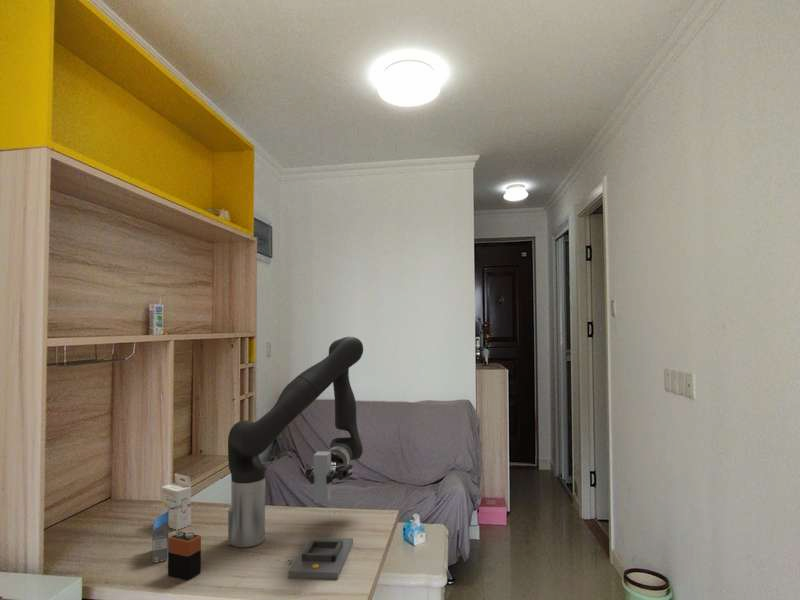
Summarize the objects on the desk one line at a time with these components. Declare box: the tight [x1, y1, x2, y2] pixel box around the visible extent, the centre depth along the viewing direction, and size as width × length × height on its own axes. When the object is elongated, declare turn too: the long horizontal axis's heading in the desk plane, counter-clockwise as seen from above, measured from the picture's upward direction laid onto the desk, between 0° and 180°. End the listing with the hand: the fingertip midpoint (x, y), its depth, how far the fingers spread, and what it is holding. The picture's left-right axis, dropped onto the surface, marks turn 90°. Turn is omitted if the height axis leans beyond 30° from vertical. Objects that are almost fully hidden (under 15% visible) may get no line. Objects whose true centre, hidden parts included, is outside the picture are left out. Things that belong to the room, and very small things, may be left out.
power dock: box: [287, 536, 354, 580], centre depth 130 cm, size 12×20×3 cm, turn 175°
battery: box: [167, 530, 202, 581], centre depth 123 cm, size 4×7×10 cm, turn 66°
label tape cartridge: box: [151, 502, 170, 563], centre depth 134 cm, size 9×4×12 cm, turn 23°
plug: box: [313, 451, 332, 504], centre depth 131 cm, size 4×4×12 cm
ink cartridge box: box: [160, 473, 192, 531], centre depth 155 cm, size 9×5×15 cm, turn 58°
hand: (319, 479), depth 128 cm, fingers closed on plug, 3 cm apart
